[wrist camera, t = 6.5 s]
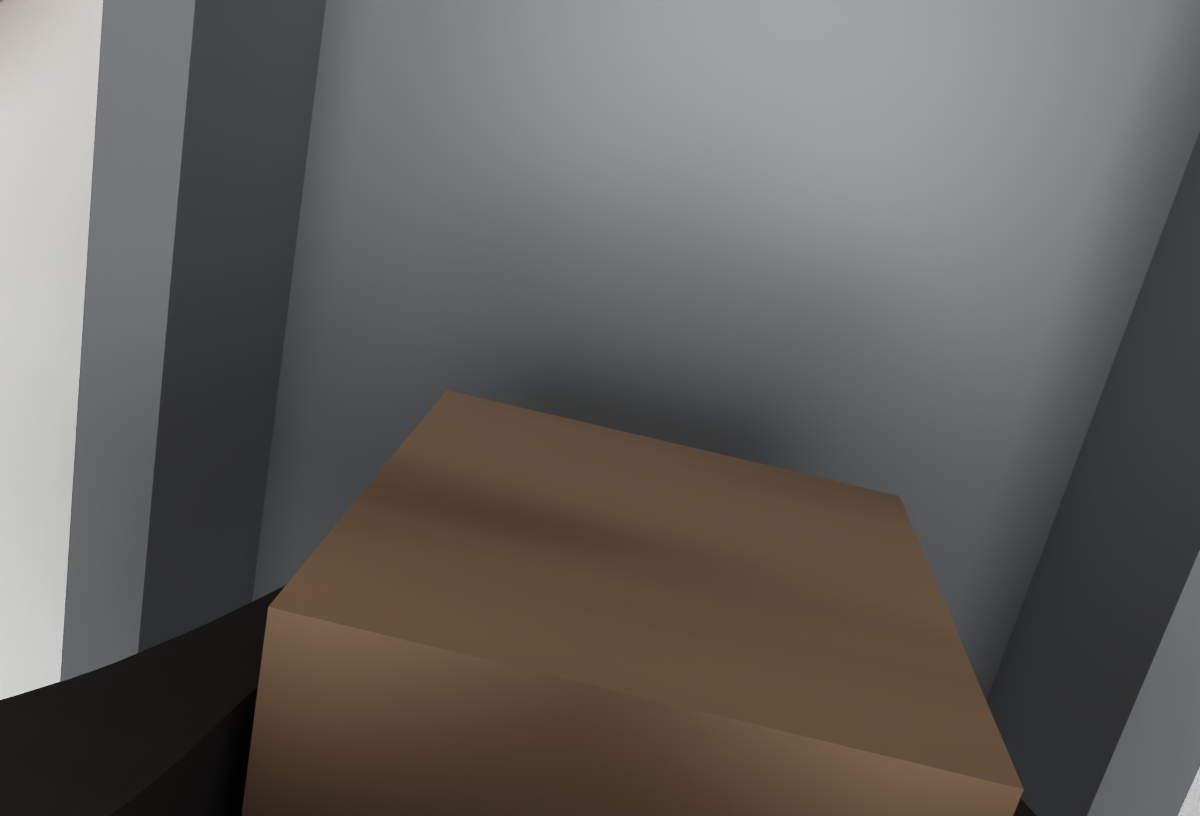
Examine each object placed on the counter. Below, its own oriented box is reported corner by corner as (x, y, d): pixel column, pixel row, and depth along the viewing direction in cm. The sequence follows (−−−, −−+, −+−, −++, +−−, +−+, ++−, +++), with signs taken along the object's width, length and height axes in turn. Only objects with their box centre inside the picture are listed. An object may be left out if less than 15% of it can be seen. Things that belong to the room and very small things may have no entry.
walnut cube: (778, 867, 13) (814, 1314, 9) (380, 770, 13) (198, 1154, 9) (899, 495, 12) (1024, 788, 7) (446, 389, 12) (269, 607, 7)
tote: (967, 847, 19) (1047, 1098, 15) (209, 661, 20) (50, 847, 15) (1410, -298, 14) (1770, -486, 9) (340, -519, 14) (153, -808, 10)
